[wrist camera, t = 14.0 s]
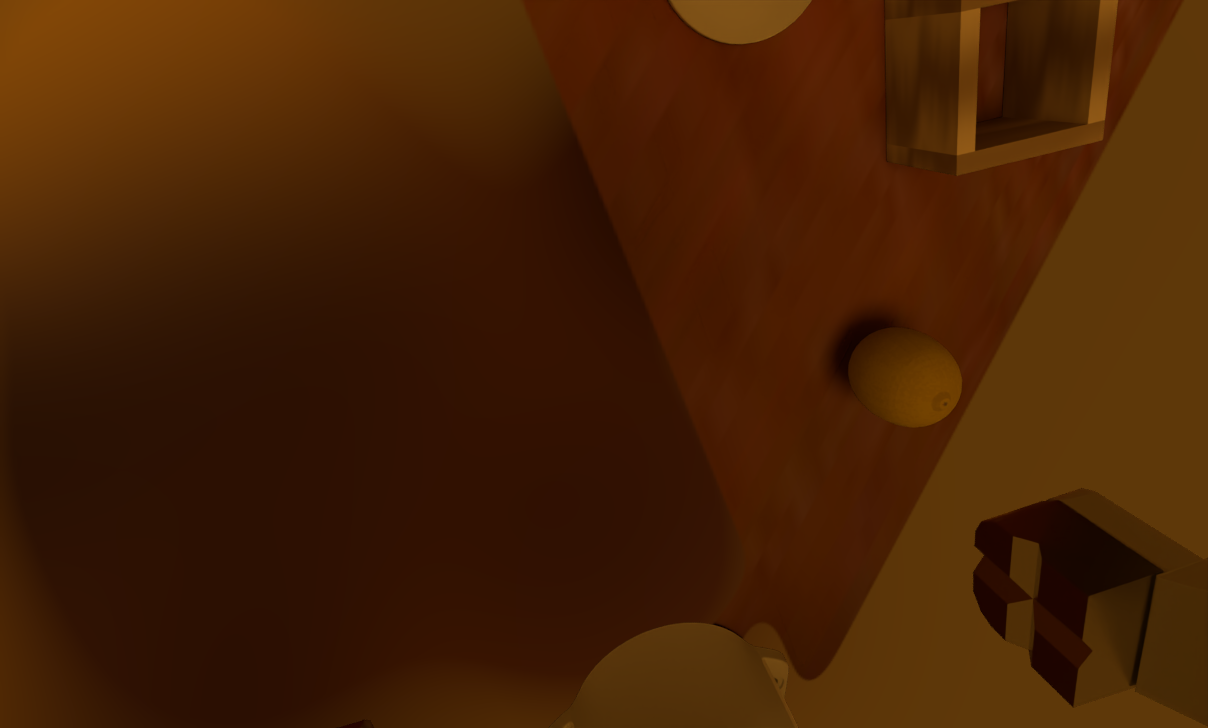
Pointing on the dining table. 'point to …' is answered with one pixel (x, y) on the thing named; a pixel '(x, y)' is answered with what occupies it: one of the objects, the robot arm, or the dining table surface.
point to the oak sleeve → (1031, 82)
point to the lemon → (904, 377)
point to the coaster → (738, 18)
